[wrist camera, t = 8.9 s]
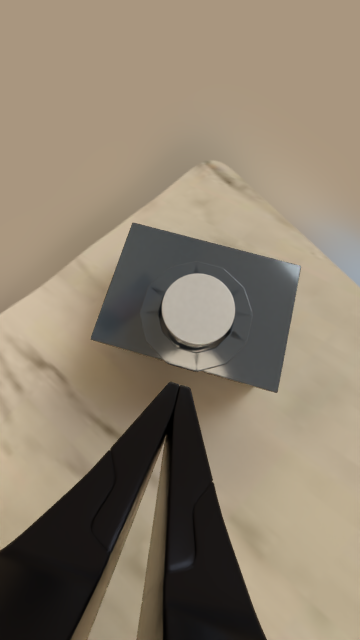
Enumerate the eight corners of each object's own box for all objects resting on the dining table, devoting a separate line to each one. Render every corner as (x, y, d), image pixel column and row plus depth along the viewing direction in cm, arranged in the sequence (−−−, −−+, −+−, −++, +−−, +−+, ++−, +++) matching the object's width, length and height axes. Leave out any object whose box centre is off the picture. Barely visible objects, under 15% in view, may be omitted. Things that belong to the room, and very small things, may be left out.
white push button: (219, 355, 15) (225, 353, 13) (155, 337, 15) (152, 332, 13) (234, 293, 16) (242, 283, 14) (173, 277, 16) (173, 265, 14)
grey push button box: (254, 388, 21) (291, 399, 14) (109, 347, 22) (77, 337, 15) (275, 287, 23) (316, 253, 16) (141, 251, 24) (126, 204, 17)
